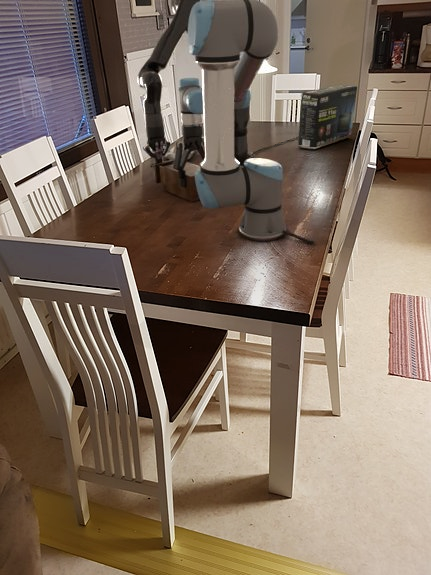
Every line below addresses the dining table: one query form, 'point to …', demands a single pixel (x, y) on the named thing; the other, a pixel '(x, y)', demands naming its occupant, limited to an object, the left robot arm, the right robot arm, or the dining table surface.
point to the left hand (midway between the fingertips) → (159, 166)
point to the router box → (326, 115)
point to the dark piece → (160, 171)
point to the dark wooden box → (175, 186)
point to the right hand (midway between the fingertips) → (195, 183)
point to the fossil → (172, 152)
